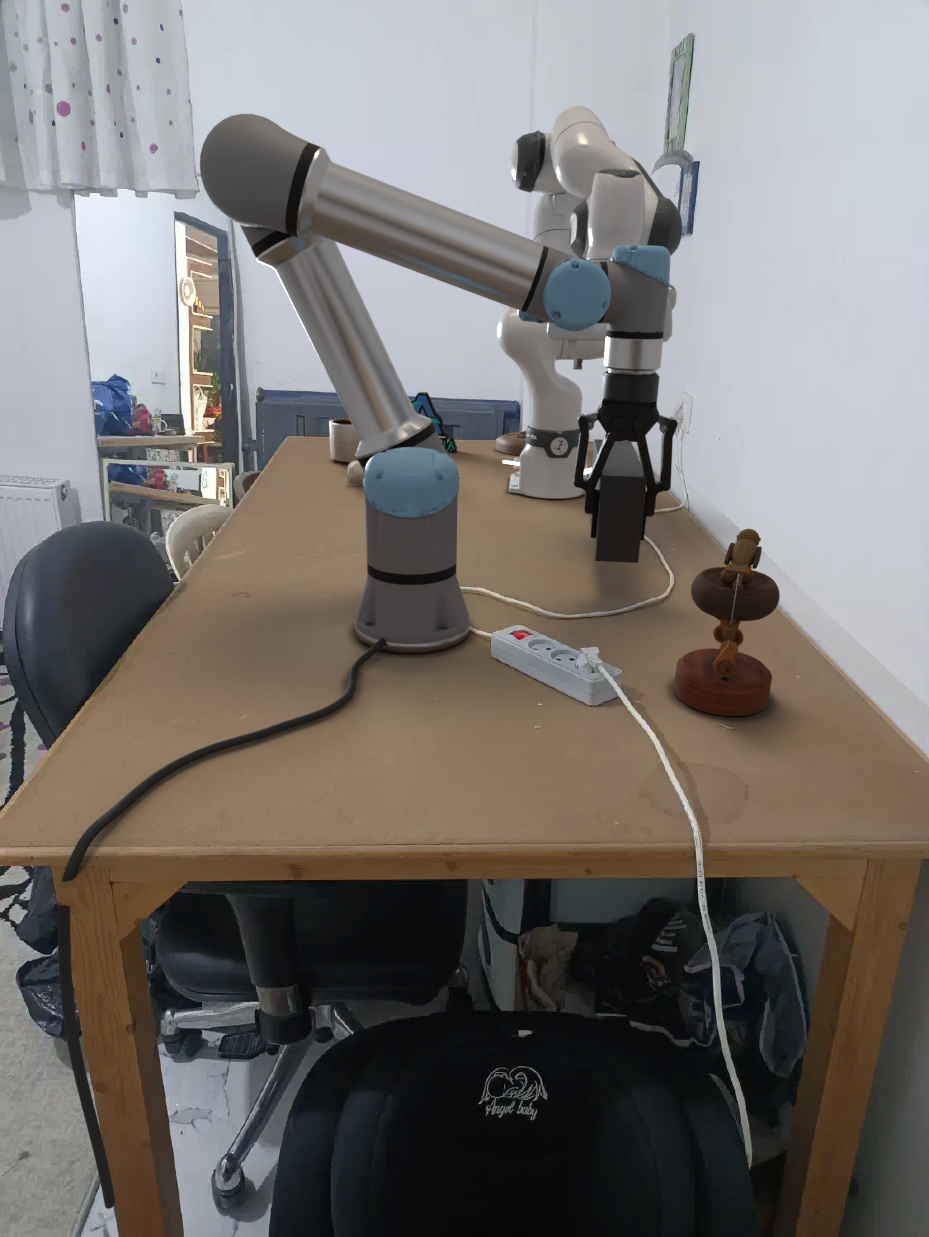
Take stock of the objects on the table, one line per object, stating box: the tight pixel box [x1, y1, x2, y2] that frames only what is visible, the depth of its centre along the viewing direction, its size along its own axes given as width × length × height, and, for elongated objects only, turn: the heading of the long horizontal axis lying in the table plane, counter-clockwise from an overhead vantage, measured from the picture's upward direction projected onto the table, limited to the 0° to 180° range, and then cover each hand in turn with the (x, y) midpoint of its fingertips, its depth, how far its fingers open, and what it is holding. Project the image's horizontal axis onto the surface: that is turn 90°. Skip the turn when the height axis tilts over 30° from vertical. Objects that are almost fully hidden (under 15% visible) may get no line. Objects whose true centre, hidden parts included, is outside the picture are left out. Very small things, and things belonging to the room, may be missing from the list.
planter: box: [328, 417, 359, 464], centre depth 212 cm, size 11×11×10 cm
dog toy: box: [346, 461, 365, 485], centre depth 190 cm, size 20×6×5 cm, turn 99°
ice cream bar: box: [495, 430, 527, 456], centre depth 223 cm, size 21×28×4 cm
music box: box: [673, 528, 781, 717], centre depth 94 cm, size 15×11×20 cm
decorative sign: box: [410, 391, 458, 453], centre depth 224 cm, size 19×2×15 cm, turn 86°
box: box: [588, 438, 647, 564], centre depth 130 cm, size 28×6×12 cm, turn 174°
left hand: (616, 536), depth 122 cm, fingers closed on box, 6 cm apart
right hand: (606, 370), depth 141 cm, fingers open, 8 cm apart
